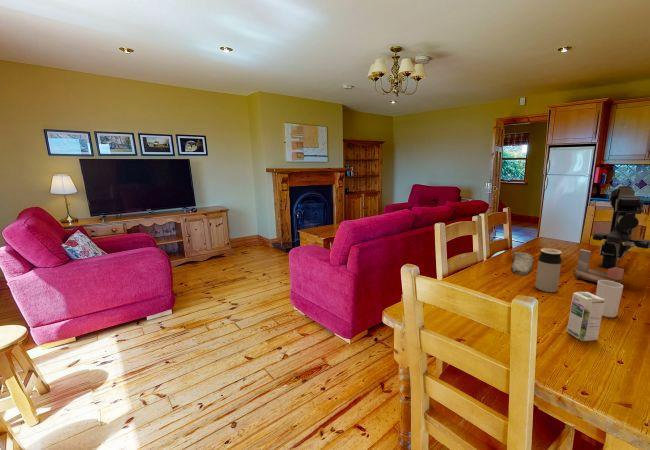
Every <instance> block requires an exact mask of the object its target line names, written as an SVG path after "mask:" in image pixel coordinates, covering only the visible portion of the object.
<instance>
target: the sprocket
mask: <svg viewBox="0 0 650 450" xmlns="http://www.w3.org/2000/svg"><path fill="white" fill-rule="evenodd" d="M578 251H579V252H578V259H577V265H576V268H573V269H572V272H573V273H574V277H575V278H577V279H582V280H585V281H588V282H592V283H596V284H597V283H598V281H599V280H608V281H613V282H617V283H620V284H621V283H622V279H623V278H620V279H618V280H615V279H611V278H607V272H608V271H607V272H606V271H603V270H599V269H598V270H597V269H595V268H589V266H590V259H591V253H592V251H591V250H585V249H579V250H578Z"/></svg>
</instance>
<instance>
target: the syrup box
mask: <svg viewBox="0 0 650 450" xmlns="http://www.w3.org/2000/svg"><path fill="white" fill-rule="evenodd" d="M604 303H605V299H602V298H600V297H598V296H596V294H593V293H591V292H589V291H576V292H573V293H572V298H571V303H570V311H569V318H568V322H567V327H566V333H567V332H568V334H570V335H571V336H573V338H574V337H575V338H576V339H577V340H579V341H581V342H591V341H598V338H599V333H600V328H601V323H602V317H603V316H602V313H603V308H604Z"/></svg>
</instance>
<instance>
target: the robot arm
mask: <svg viewBox="0 0 650 450" xmlns="http://www.w3.org/2000/svg"><path fill="white" fill-rule="evenodd" d="M635 194H636V193H635V190H634V189H633V186H631V185H619V186H617V188H615V189H613V190H611V192H610V194H609V198H608V202H609V204H610V206H611V207H612V215H611V221H610V226H609V232H608V233H605V232H597V233H594V234H593V235H592V240H594V241H603V243H601V246H600V249H599V255H600V256H602V258H601V263H599V264H598V265H597V266H598V267H602V268H606V269H610V268H613V267H617V268H620V266H619V265H617V264H618V259H619V260H621V259H623V258H624V257H625V255H626V253H627V252H628V251H629V250H630V249H631V248H633V247H636V248H640V249H646V250H648V249H650V239H644V238H640V239H633V231H634V230H635V228H637V227H638V226H639V219H638V218H637V216H636V215H641V214H642V213H643V212H644V202H643V201H642V199H641V198H640V196H638V195H635Z"/></svg>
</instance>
